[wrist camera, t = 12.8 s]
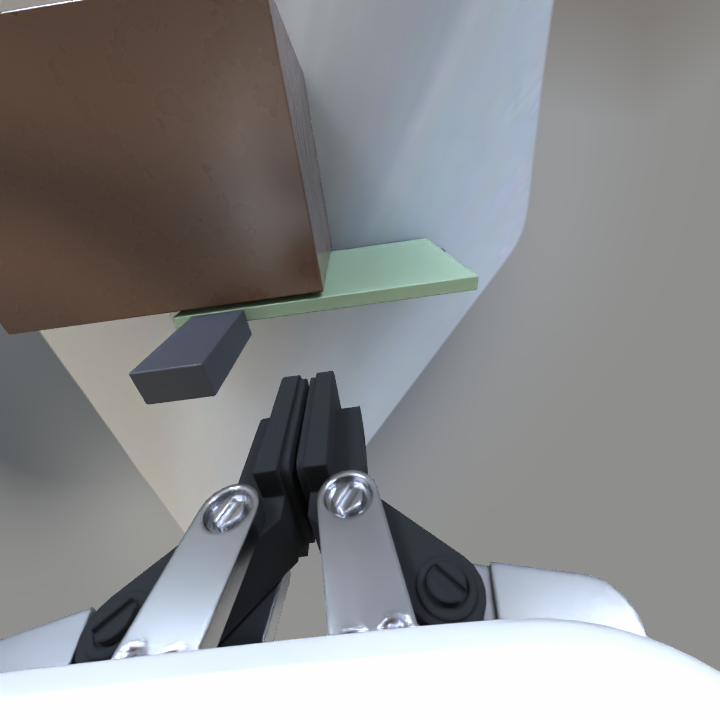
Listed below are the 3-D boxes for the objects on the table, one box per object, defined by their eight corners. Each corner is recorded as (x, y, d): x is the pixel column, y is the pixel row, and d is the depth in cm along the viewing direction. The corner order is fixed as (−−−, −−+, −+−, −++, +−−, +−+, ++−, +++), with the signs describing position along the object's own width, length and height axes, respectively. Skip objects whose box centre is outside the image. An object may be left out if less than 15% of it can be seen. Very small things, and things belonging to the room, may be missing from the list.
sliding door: (237, 264, 28) (99, 376, 12) (426, 237, 28) (536, 318, 12) (243, 282, 29) (120, 408, 13) (426, 256, 29) (530, 355, 13)
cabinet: (59, 110, 23) (-215, 46, 12) (442, 50, 22) (544, -80, 11) (148, 294, 30) (30, 364, 19) (441, 253, 29) (503, 300, 18)
